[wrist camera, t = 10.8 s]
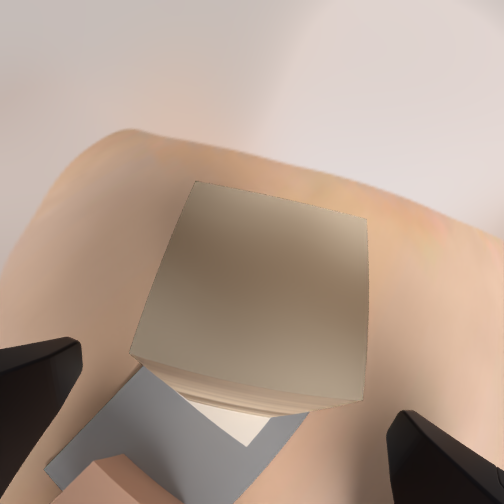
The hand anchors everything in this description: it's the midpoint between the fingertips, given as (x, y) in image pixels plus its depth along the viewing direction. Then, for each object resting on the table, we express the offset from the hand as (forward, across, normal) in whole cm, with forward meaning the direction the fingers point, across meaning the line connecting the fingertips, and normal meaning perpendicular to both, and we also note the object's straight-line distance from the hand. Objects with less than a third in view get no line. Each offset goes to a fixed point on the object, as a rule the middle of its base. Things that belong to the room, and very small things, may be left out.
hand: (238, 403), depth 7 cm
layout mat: (+7, +2, +10) cm, 12 cm away
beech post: (+10, 0, +6) cm, 12 cm away
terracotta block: (+2, +4, +14) cm, 15 cm away
